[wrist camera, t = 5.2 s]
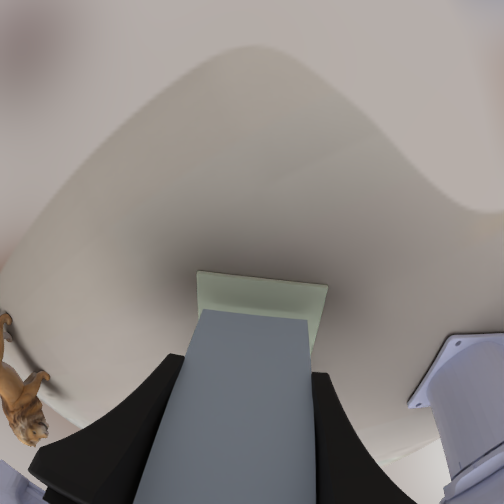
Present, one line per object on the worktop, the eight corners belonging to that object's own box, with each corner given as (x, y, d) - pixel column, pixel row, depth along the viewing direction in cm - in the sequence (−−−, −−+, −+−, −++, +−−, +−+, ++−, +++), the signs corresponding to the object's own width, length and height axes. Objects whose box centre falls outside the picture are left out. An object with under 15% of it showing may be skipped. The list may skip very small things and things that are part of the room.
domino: (203, 308, 14) (130, 510, 5) (307, 319, 14) (315, 537, 5) (204, 333, 15) (144, 520, 6) (301, 343, 14) (302, 542, 5)
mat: (327, 285, 15) (328, 287, 15) (270, 474, 27) (269, 476, 27) (197, 270, 16) (196, 273, 15) (212, 467, 28) (212, 469, 28)
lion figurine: (77, 400, 26) (44, 458, 18) (54, 397, 27) (23, 447, 19) (-1, 295, 20) (-55, 348, 12) (-16, 302, 21) (-62, 348, 13)
